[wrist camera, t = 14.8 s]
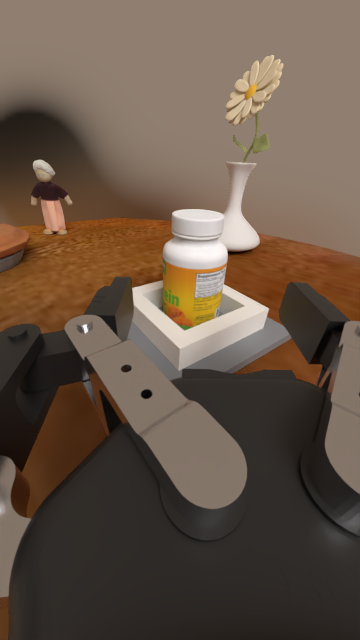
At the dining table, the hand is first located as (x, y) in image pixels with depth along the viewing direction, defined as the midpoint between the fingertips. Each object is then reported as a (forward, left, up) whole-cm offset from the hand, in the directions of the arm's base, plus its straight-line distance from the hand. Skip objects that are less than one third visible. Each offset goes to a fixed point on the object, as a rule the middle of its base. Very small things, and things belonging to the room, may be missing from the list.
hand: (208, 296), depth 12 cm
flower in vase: (-23, +27, -8) cm, 36 cm away
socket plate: (-7, +5, -8) cm, 12 cm away
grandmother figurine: (-48, +2, -8) cm, 49 cm away
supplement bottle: (-7, +5, -7) cm, 11 cm away
